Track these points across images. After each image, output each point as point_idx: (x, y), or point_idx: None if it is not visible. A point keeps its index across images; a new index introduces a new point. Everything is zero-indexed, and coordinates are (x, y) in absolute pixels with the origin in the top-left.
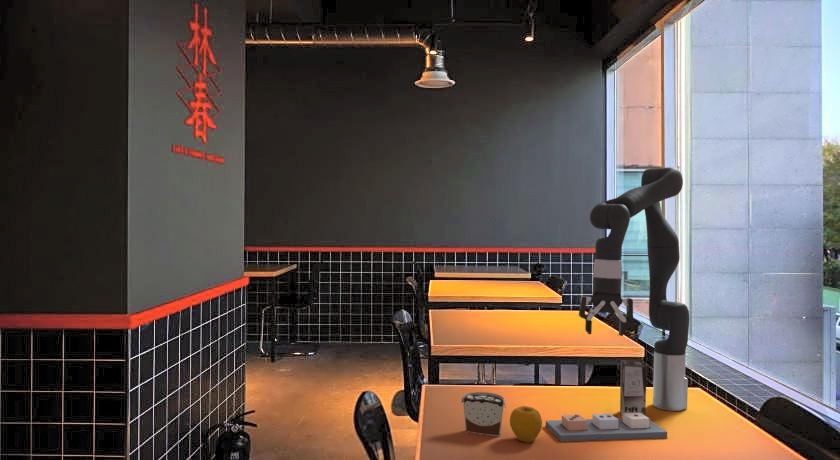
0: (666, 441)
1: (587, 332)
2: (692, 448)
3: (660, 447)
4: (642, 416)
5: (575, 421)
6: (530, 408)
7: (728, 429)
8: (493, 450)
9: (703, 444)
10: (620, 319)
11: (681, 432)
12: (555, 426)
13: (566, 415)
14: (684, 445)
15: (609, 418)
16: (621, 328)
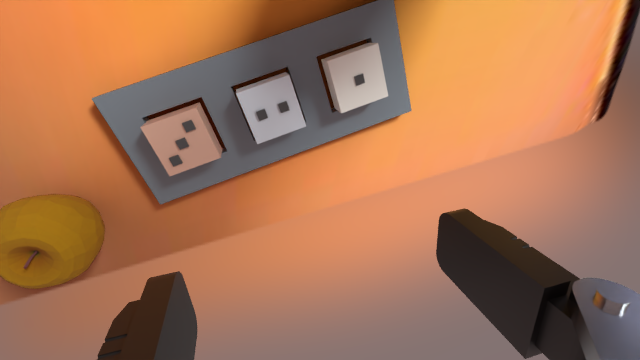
0: (396, 131)
1: (151, 281)
2: (431, 158)
3: (374, 170)
4: (375, 81)
5: (189, 168)
6: (39, 245)
7: (560, 9)
8: (21, 288)
9: (461, 129)
10: (573, 334)
11: (448, 60)
12: (134, 143)
13: (156, 128)
14: (423, 145)
15: (283, 123)
16: (483, 306)
